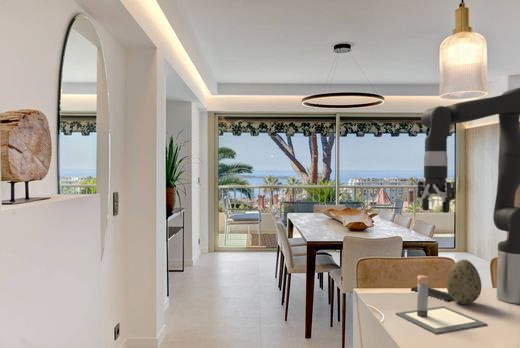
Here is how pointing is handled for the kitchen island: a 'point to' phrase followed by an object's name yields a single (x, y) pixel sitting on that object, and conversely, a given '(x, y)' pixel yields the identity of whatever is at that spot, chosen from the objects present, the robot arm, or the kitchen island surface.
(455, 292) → the decorative egg
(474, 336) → the kitchen island surface
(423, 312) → the marker
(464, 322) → the writing mat
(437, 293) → the phone
